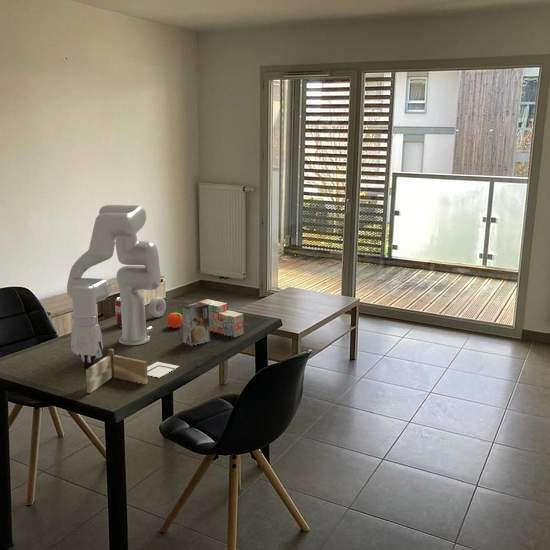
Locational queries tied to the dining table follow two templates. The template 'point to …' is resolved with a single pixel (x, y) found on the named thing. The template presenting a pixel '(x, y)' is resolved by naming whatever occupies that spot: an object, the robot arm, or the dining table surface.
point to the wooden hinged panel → (128, 368)
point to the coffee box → (195, 323)
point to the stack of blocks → (224, 319)
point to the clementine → (174, 320)
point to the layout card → (160, 369)
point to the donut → (152, 307)
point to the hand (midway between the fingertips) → (89, 372)
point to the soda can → (118, 312)
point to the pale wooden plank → (98, 374)
